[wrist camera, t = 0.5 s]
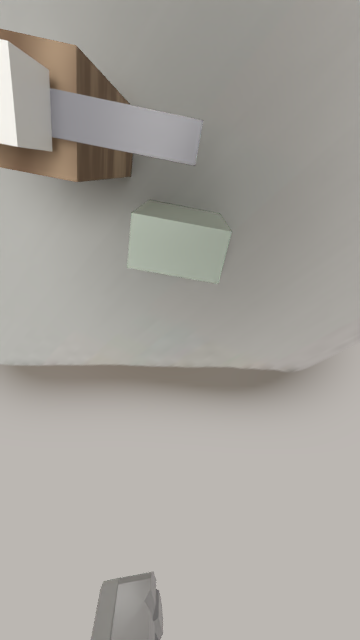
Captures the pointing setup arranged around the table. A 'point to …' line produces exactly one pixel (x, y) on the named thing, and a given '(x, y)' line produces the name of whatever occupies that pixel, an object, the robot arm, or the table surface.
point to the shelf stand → (67, 156)
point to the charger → (84, 116)
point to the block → (178, 241)
